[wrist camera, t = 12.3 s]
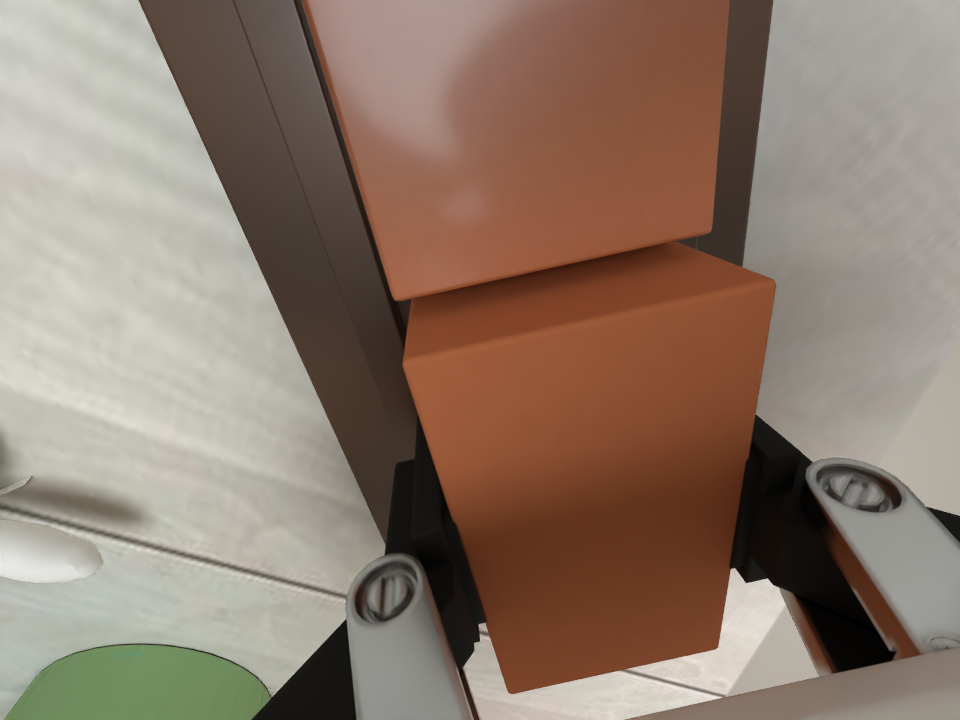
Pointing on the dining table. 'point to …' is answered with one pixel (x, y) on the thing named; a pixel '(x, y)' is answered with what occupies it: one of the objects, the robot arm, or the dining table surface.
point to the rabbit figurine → (44, 551)
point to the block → (594, 450)
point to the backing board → (458, 159)
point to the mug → (141, 687)
